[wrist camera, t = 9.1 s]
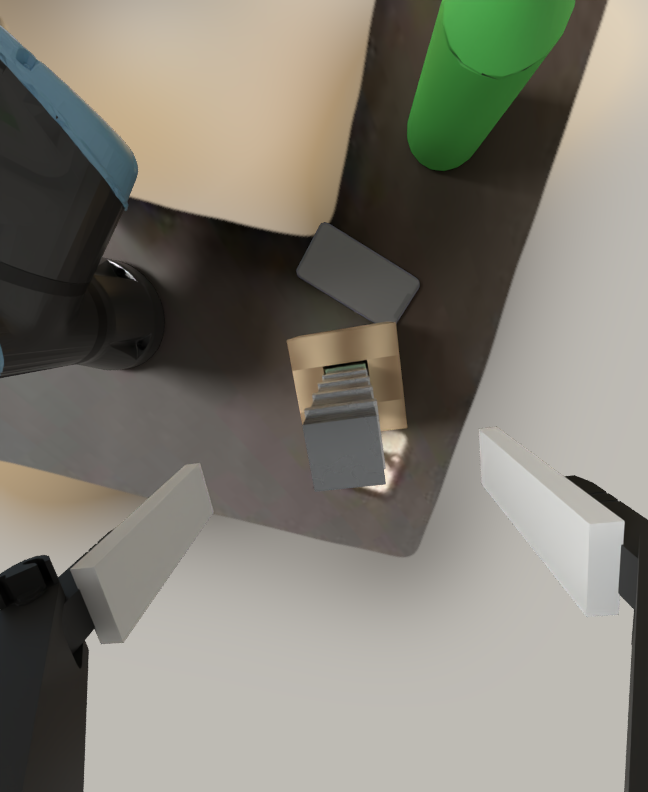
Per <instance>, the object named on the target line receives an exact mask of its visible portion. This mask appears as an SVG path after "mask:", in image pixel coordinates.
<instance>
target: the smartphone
mask: <svg viewBox="0 0 648 792" xmlns="http://www.w3.org/2000/svg"><path fill="white" fill-rule="evenodd" d="M296 272H297V275H298V276H299V278H301V279H302V280H304V281H306V282H307V283H309V284H311V285H312V286H314V287H316V288H317V289H319V290H320V291H322V292H324V293H325V294H327V295H329V296H330V297H332V298H333V299H335V300H337V301H338V302H340V303H342V304H343V305H345V306H347V307H348V308H350V309H351V310H353V311H354V312H356V313H358V314H359V315H361V316H363V317H365V318H366V319H368V320H369V321H371V322H373V323H374V324H375V323H382V322H396V323H397V322H398V320H399V319H400V317H401V316H402V314H403V312H404V311H405V309H406V308H407V306H408V305H409V303H410V301H411V300H412V298H413V297H414V295H415V294H416V292H417V290H418V289H419V287H420V285H419V280H418V279H417V278H416V277H414V276H413V275H411V274H410V273H408V272H406V271H405V270H403V269H402V268H400V267H398V266H397V265H395V264H394V263H392V262H391V261H389V260H387V259H386V258H384V257H382V256H381V255H379V254H377V253H376V252H374V251H373V250H371V249H369V248H368V247H366V246H364V245H363V244H361V243H360V242H358V241H356V240H355V239H353V238H352V237H350V236H348V235H347V234H345V233H343V232H342V231H340V230H339V229H337V228H335V227H334V226H332V225H331V224H329V223H326V222H324V223H321V224H320V226H319V228H318V230H317V231H316V233H315V235H314V237H313V239H312V241H311V243H310V245H309V247H308V249H307V251H306V253H305V254H304V256H303V258H302V260H301V262H300V264H299V266H298V268H297V270H296Z"/></svg>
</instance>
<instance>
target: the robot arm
mask: <svg viewBox="0 0 648 792" xmlns="http://www.w3.org/2000/svg"><path fill="white" fill-rule="evenodd" d="M137 174H138V165H137V161H136V159H135V156H134V154H133V152H132V151H131V149H130V148H129V146H128V145H127V144H126V143H125V142H124V141H123V139H122V138H121V137H120V136H119V135H118V134H117V133H116V132H115V131H114V130H113V129H112V128H111V127H110V126H109V125H108V124H107V123H106V122H105V121H104V120H103V119H102V118H101V117H100V116H99V115H98V114H97V113H96V112H95V111H94V110H93V109H92V108H91V107H90V106H89V105H88V104H87V103H86V102H85V101H84V100H83V99H82V98H81V97H80V96H78V95H77V94H76V93H75V92H74V91H73V90H72V89H71V88H70V87H69V86H68V85H67V84H66V83H65V82H63V81H62V80H61V79H60V78H59V77H58V76H57V75H56V74H55V73H53V72H52V71H51V70H50V69H49V68H48V67H47V66H46V65H45V64H43V63H42V62H40V61H38V60H37V59H36V58H35V56H34V55H33V54H32V53H31V52H29V51H28V50H27V49H26V48H25V47H23V46H22V45H21V44H20V43H19V42H18V41H17V40H16V39H15V38H14V37H13V36H12V35H11V34H10V33H9V32H8V31H6V30H5V29H4V28H3V27H2V26H0V378H3V377H9V376H14V375H20V374H25V373H30V372H36V371H41V370H47V369H52V368H58V367H63V366H68V365H74V364H78V365H83V366H88V367H93V368H98V369H103V370H122V369H126V368H131V367H135V366H138V365H140V364H142V363H144V362H145V361H147V360H148V359H149V358H150V357H151V356H152V355H153V354H154V353H155V352H156V350H157V349H158V347H159V345H160V343H161V340H162V337H163V332H164V313H163V308H162V305H161V302H160V299H159V297H158V295H157V293H156V291H155V289H154V288H153V286H152V285H151V283H150V282H149V281H148V280H147V279H146V278H145V277H144V276H143V275H142V274H141V273H140V272H139V271H137V270H136V269H135V268H133V267H131V266H129V265H128V264H125V263H123V262H120V261H116V260H112V259H108V258H103V257H102V256H103V254H104V252H105V250H106V247H107V245H108V243H109V241H110V239H111V237H112V234H113V232H114V230H115V228H116V226H117V224H118V222H119V219H120V217H121V215H122V213H123V211H126V210H127V208H128V203H127V201H128V198H129V196H130V193H131V191H132V188H133V186H134V183H135V181H136V178H137ZM479 445H480V465H481V482H482V483H481V484H482V486H483V487H484V488H485V490H486V491H487V492H488V493H489V495H490V496H491V497H492V498H493V500H494V501H495V502H496V503H497V505H498V506H499V507H500V508H501V510H502V511H503V512H504V513H505V515H506V516H507V517H508V519H509V520H510V521H511V522H512V524H513V525H514V526H515V527H516V529H517V530H518V531H519V532H520V534H521V535H522V536H523V537H524V539H525V540H526V541H527V542H528V544H529V545H530V546H531V547H532V549H533V550H534V551H535V553H536V554H537V555H538V556H539V558H540V559H541V560H542V561H543V563H544V564H545V565H546V566H547V567H548V569H549V570H550V571H551V573H552V574H553V575H554V576H555V578H556V579H557V580H558V582H559V583H560V584H561V585H562V586H563V588H564V589H565V590H566V592H567V593H568V594H569V595H570V597H571V598H572V599H573V600H574V602H575V603H576V604H577V605H578V607H579V608H580V609H581V610H582V612H583V613H584V614H585V615H586V617H589V616H607V615H619V601H620V596H621V597H622V598H623V599H624V600H625V601H626V602H627V603H628V604H629V605H630V606H631V607H632V608H633V609H634V619H633V631H632V656H631V657H632V658H631V674H630V693H629V712H628V731H627V750H626V769H625V788H624V792H648V520H647V519H646V518H644V517H643V516H641V515H640V514H638V513H637V512H635V511H634V510H632V509H631V508H630V507H628V506H626V505H625V504H624V503H622V502H621V501H618V500H617V499H616V498H615V497H613V496H612V495H610V494H607V493H606V491H604V490H603V489H601V488H600V487H598V486H597V485H596V484H594V483H592V482H590V481H588V480H585V479H583V478H580V477H577V476H575V475H574V476H563V475H561V474H560V473H559V472H557V471H556V470H555V469H553V468H552V467H551V466H549V465H548V464H547V463H545V462H544V461H543V460H541V459H540V458H539V457H537V456H536V455H534V454H533V453H532V452H530V451H529V450H527V449H526V448H525V447H524V446H522V445H521V444H520V443H518V442H517V441H515V440H514V439H513V438H511V437H510V436H509V435H507V434H506V433H505V432H503V431H502V430H501V429H499V428H498V427H489V428H481V429H479ZM213 513H214V512H213V508H212V504H211V501H210V497H209V494H208V490H207V486H206V483H205V479H204V476H203V472H202V468H201V465H200V463H196V464H188V465H185V466H184V467H182V468H181V469H180V470H179V471H178V472H177V473H176V474H175V475H174V476H173V477H171V478H170V479H169V480H168V481H167V482H166V483H165V484H164V485H163V486H161V487H160V488H159V489H158V490H157V491H156V492H155V493H154V494H153V495H152V496H150V497H149V498H148V499H147V500H146V501H145V502H144V503H143V504H142V505H141V506H139V507H138V508H137V509H136V510H135V511H134V512H133V513H132V514H131V515H129V516H128V517H127V518H126V519H125V520H124V521H123V522H122V523H121V524H119V525H118V526H117V527H116V528H115V529H113V530H111V531H110V532H108V533H107V534H106V535H105V536H104V537H103V538H102V539H101V540H99V541H98V544H95V545H94V546H93V547H92V548H90V549H89V552H86V553H85V554H84V555H83V556H82V557H80V558H79V559H78V560H77V561H76V562H75V563H74V564H73V565H72V566H70V568H68V569H67V570H66V571H65V572H64V573H63V574H61V575H60V576H59V577H58V576H57V574H56V572H55V570H54V567H53V565H52V562H51V561H50V558H49V556H46V555H41V556H35V557H32V558H29V559H27V560H24V561H22V562H20V563H18V564H16V565H14V566H12V567H11V568H9V569H7V570H6V571H4V572H2V573H1V574H0V792H83V787H84V761H85V734H86V708H87V681H88V655H89V650H88V647H87V644H86V642H85V639H86V638H87V637H88V636H89V634H90V633H91V632H92V631H93V629H95V631H96V634H97V636H98V638H99V641H100V643H101V644H110V643H124V641H125V640H126V638H127V637H128V635H129V634H130V632H131V631H132V630H133V628H134V627H135V625H136V624H137V622H138V621H139V619H140V618H141V617H142V615H143V614H144V612H145V611H146V609H147V608H148V607H149V605H150V604H151V602H152V601H153V599H154V598H155V596H156V595H157V594H158V592H159V591H160V589H161V588H162V586H163V585H164V583H165V582H166V581H167V579H168V578H169V576H170V575H171V573H172V572H173V570H174V569H175V568H176V566H177V565H178V563H179V562H180V560H181V559H182V557H183V556H184V555H185V553H186V552H187V550H188V549H189V547H190V546H191V544H192V543H193V542H194V540H195V539H196V537H197V536H198V534H199V533H200V531H201V530H202V528H203V527H204V525H205V524H206V523H207V521H208V520H209V518H210V517H211V515H212V514H213Z"/></svg>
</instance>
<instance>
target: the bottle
mask: <svg viewBox="0 0 648 792" xmlns="http://www.w3.org/2000/svg"><path fill="white" fill-rule="evenodd" d="M574 6H575V0H442V2H441V6H440V9H439V13H438V16H437V20H436V23H435V27H434V30H433V34H432V37H431V41H430V44H429V48H428V51H427V55H426V58H425V62H424V66H423V69H422V73H421V76H420V80H419V83H418V87H417V90H416V94H415V97H414V101H413V105H412V108H411V112H410V115H409V119H408V123H407V139H408V143H409V146H410V149H411V152H412V154H413V155H414V156H415V158H416V159H417V160H418V161H419V163H421V164H422V165H424V166H426V167H428V168H429V169H432V170H440V171H446V170H449V169H453V168H457V167H459V166H460V165H461V164H463V163H464V162H466V161H467V160H469V159H470V158H471V156H472V155H473V154H474V153H475V151H476V150H477V149H478V147H479V146H480V145H481V143H482V142H483V141H484V139H485V138H486V137H487V135H488V134H489V133H490V131H491V130H492V129H493V127H494V126H495V125H496V123H497V122H498V121H499V119H500V118H501V117H502V115H503V114H504V113H505V111H506V110H507V109H508V107H509V106H510V105H511V103H512V102H513V101H514V99H515V98H516V97H517V95H518V94H519V93H520V91H521V90H522V89H523V87H524V86H525V85H526V83H527V82H528V81H529V79H530V78H531V77H532V75H533V74H534V72H535V71H536V70H537V68H538V67H539V66H540V64H541V63H542V62H543V60H544V59H545V58H546V56H547V55H548V54H549V52H550V51H551V50H552V48H553V47H554V46H555V44H556V43H557V42H558V40H559V39H560V38H561V36H562V35H563V32H564V30H565V28H566V25H567V23H568V20H569V18H570V15H571V13H572V11H573V8H574Z"/></svg>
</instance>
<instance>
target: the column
mask: <svg viewBox="0 0 648 792" xmlns="http://www.w3.org/2000/svg"><path fill="white" fill-rule="evenodd" d="M325 372H326V375H322V380H323V382H321V383H318V389H319V390H318V392H317V393H313V394H312V398H313V403H312V406H311V407H309V408H305V410H304V413H305V421H304V423H303V425H302V426H303V431H304V437H305V442H306V447H307V453H308V458H309V463H310V468H311V474H312V479H313V484H314V490H315V492H316V491H325V490H335V489H345V488H354V487H364V486H374V485H383V484H386V482H385V475H384V469H386V468H385V460H384V452H383V445H382V437H381V429H380V422H379V414H378V406H377V400H376V398H375V399H374V395H373V387H372V385H370V378H369V376H368V373H367V368H366V366H365V363H363V362H362V361H361V362H354V363H347V364H341V365H334V366H329V368H328V369H325Z"/></svg>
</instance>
